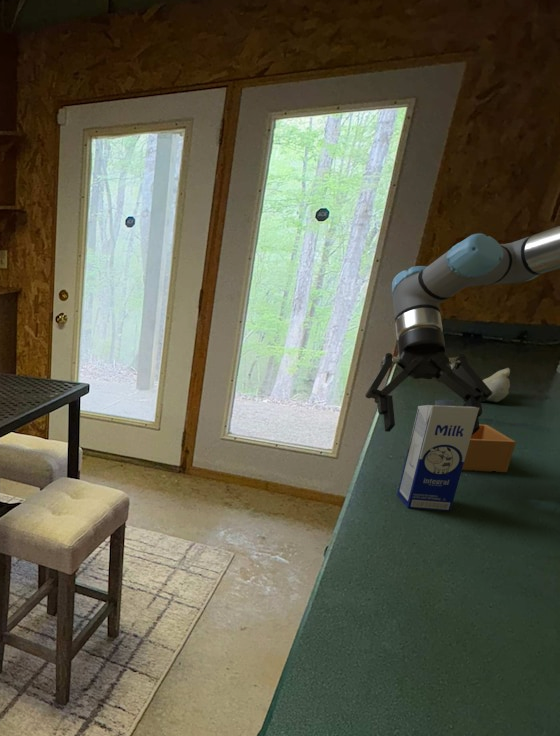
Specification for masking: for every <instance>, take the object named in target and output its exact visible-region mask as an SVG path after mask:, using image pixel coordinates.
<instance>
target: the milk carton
mask: <svg viewBox="0 0 560 736" xmlns="http://www.w3.org/2000/svg"><path fill="white" fill-rule="evenodd" d="M478 411H479V408H476V407H464V406H461V405H455V400H450V399H434V404H426V405H425V404H424V405H418V406H417V411H416V415H415V419H414V424H413V427H412V432H411V436H410V439H409V444H408V448H407V451H406V456H405V459H404V460H405V461H404V465H403V468H402V472H401V477H400V480H399V481H400V482H399V486H398V489H397V494H396V495H397V497H398V498H399V499H400V500H401V501H402V502H403V504H404V505H405V506H406V508H407V509H416V510H427V511H429V510H430V511H439V512H451V511H452V507H453V504H454V499H455V496H456V492H457V489H458V485H459V482H460V477H461V475H462V471H463V470H462V467H463V464H464V460H465V457H466V453H467V450H468V446H469V442H470V439H471V435H472V432H473V428H474V424H475V421H476V417H477V414H478Z"/></svg>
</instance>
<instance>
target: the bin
mask: <svg viewBox="0 0 560 736" xmlns="http://www.w3.org/2000/svg"><path fill="white" fill-rule="evenodd" d="M479 426H480V429H479V430H478V431H476V432H475V433H474V434H473V435H471V439H470V442H469V446H468V450H467V453H466V457H465V460H464V464H463V467H462V471H473V470H474V472H475V471H476V472H492V471H496V472H495V473H507V472H508V470H509V467H510V463H511V461H512V460H511V459H512V456H513V453H514V450H515V447H516V443H517V441H515V440H514V439H512V438H510V437H508V436H507V435H505V434H504V433H502V432H500V431H498V430H497V429H495V428H493V427H492V426H490V425H488V424H480V423H479Z"/></svg>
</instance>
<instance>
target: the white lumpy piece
mask: <svg viewBox="0 0 560 736" xmlns="http://www.w3.org/2000/svg"><path fill="white" fill-rule="evenodd" d="M510 374H511V369H510V368H509V367H506V368H504V369H499V370H498V371H496V372H495V373H493V374H492V375H491V376H489V377H485V378H484V379H482V381H483V382H484V383H485V384H486V385H487V387H488V388H489V389H490V390H491V391H492V395H491V396H490V397H489V398H488V399H486V400H485V401H488V402H493V403H499V402H500V401H502V400H504V399H505V398H506V397H507V396H508V395H509V394H510V393H509V389H510V387H511V384H510V383H511V382H510V381H511V380H510V379H509V378H508V377H509V376H510ZM462 401H465V400H464V399H462Z"/></svg>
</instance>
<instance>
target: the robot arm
mask: <svg viewBox="0 0 560 736" xmlns="http://www.w3.org/2000/svg"><path fill="white" fill-rule="evenodd" d="M559 269H560V225H558V226H555V227H552V228H549V229H547V230H544V231H541V232H538V233H535V234H533V235H531V236H526V237H523V238H520V239H518V240H515V241H512V242H509V243H499V242H498V241H497V240H496V239H495V238H493V237H492V236H490V235H488V236H487V235H486V234H484V233H474V234H471V235H469V236H467V237H466V238H465V239H463V240H462V241H459V242H458V243H456V244H455V245H453V246H452V247H451V248H450V249H449V250H447V251H446V252H444V253H443V254H442V255H440V256H439V257H438V258H437V259H436V260H434V261H433V262H432V263H430V264H428V265H427V266H425V265H416V266H412V267H409V268H408V269H403V270H402V271H400V272H398V274H397V275H395V277H394V278H393V280H392V283H391V301H392V306H393V307H392V308H393V314H394V324H395V334H396V340H397V343H396V344H397V354H398V356H393V354H392V353H391V352H387V353H385V355H383V356H384V357H382V359H381V361H380V369H379V370H378V373H377V374H376V376H375V378H374V379H373V381H372V382H371V384H370V386H369V388H368V390H367V392H366V393H365V398H367V399H373V400H374V403H375V404H377V413H378V415H382V416H383V424H384V425H383V426H384V432H385V433H386V432H391V431H392V430H393V429H394V427H395V426H396V420H395V408H394V399H393V395H391V393H393V391H394V390H395V389H396V388H397V387H398V386H400V384H402V383H403V382H404V381H405V380H406V379H407V378H408V377H411V378H413V380H419V379H426V380H433V379H434V380H435V381H437V382H438V383H442V384H443V385H445V386H446V387H447V388H449V390H451V391H452V392H454V393H455V394H456V395H457V396H458V397H460V398H461V399H462V400H463V399H464V400H463V401H465V403H463V404H462V405H463V406H464V407H476V408H479V411H478V414H477V417H476V421H475V424H474V428H473V432H472V435H473V434H474V433H475V432H476V431H478V430H479V429H480V426H479V424H480V421H479V417H481V416H482V414H483V406H482V403H484V402H486V401H487V400H486V399H488V398H489V397H490V396H491V395H492V391H491V390H490V389H489V388H488V387H487V385H486V384H485V383H484V382H483V379H482V378H481V377H480V376H479V374H477V372H476V371H475V370H474V369H473V367H472V366H471V365H470V364H469V361H468V359H467V356H466V354H464V353H460V354H458V356H455V357H454V356H453V357H448V355H447V354H446V343H445V336H444V332H443V331H444V330H443V329H444V328H443V323H442V315H441V307H440V306H441V303H443V302H445V301H446V300H448V299H450V298H451V297H453V296H454V295H456V294H457V293H459V292H460V291H462V290H463V289H465V288H468V287H479V286H489V285H490V286H492V285H505V284H506V285H516V284H521V283H525V282H529V281H531V280H534V279H536V278H538V277H539V276H540V275H541V274H545V273H547V272H548V273H549V272H551V271H555V270H559ZM395 365H397V366H398V368H400V369H401V371H400V372H399V373H398V374H397V375H396V376H395V377H394V378H393V379H392V380H391V381H390V382H388V384H387V385H386V386H385V387H383V388H382V390H380V389H379V388H380V386H381V384H382V383H383V380H384V379H385V377H386V375H387V373H388V372H389V370H390V369H391V368H393V367H394V366H395ZM453 370H454V372H453ZM441 372H442V374H441Z"/></svg>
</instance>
